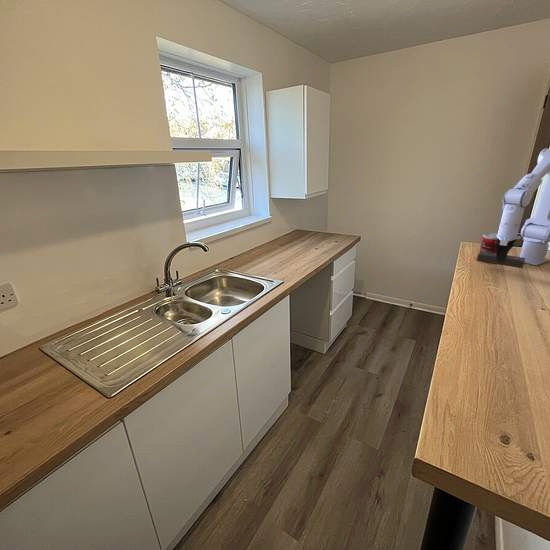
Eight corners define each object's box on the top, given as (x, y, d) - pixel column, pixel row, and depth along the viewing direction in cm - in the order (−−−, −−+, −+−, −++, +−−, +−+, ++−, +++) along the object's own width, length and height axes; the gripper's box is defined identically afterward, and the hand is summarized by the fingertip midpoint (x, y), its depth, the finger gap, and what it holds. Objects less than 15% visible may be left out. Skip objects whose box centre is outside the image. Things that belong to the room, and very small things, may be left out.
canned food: (497, 258, 131) (503, 233, 126) (500, 264, 124) (507, 238, 120) (476, 256, 134) (481, 232, 129) (479, 262, 127) (484, 237, 123)
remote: (476, 260, 116) (478, 254, 115) (478, 257, 119) (480, 250, 118) (522, 268, 107) (524, 261, 106) (523, 264, 111) (525, 257, 110)
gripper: (522, 229, 100) (511, 267, 105) (525, 220, 110) (516, 255, 115) (496, 226, 104) (487, 263, 110) (502, 218, 114) (493, 252, 120)
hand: (500, 259), depth 113 cm, fingers closed on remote, 4 cm apart
